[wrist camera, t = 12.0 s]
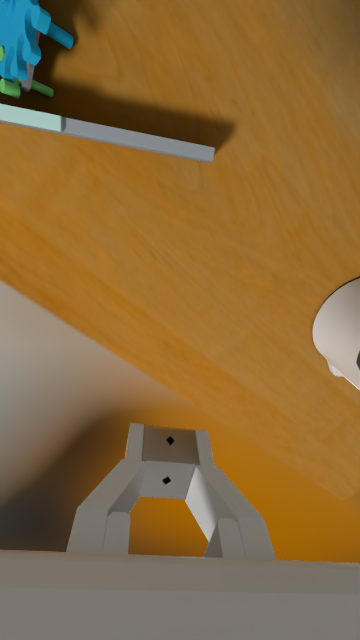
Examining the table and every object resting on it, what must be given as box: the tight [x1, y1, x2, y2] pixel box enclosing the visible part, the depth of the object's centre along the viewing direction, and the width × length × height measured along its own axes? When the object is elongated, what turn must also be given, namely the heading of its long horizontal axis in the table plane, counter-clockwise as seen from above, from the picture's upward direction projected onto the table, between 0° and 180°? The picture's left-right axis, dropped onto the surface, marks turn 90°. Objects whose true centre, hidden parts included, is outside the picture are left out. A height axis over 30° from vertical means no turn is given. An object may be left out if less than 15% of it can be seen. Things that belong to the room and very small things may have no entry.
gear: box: [0, 0, 73, 99], centre depth 25 cm, size 11×6×10 cm
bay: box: [0, 104, 215, 162], centre depth 26 cm, size 24×16×5 cm
